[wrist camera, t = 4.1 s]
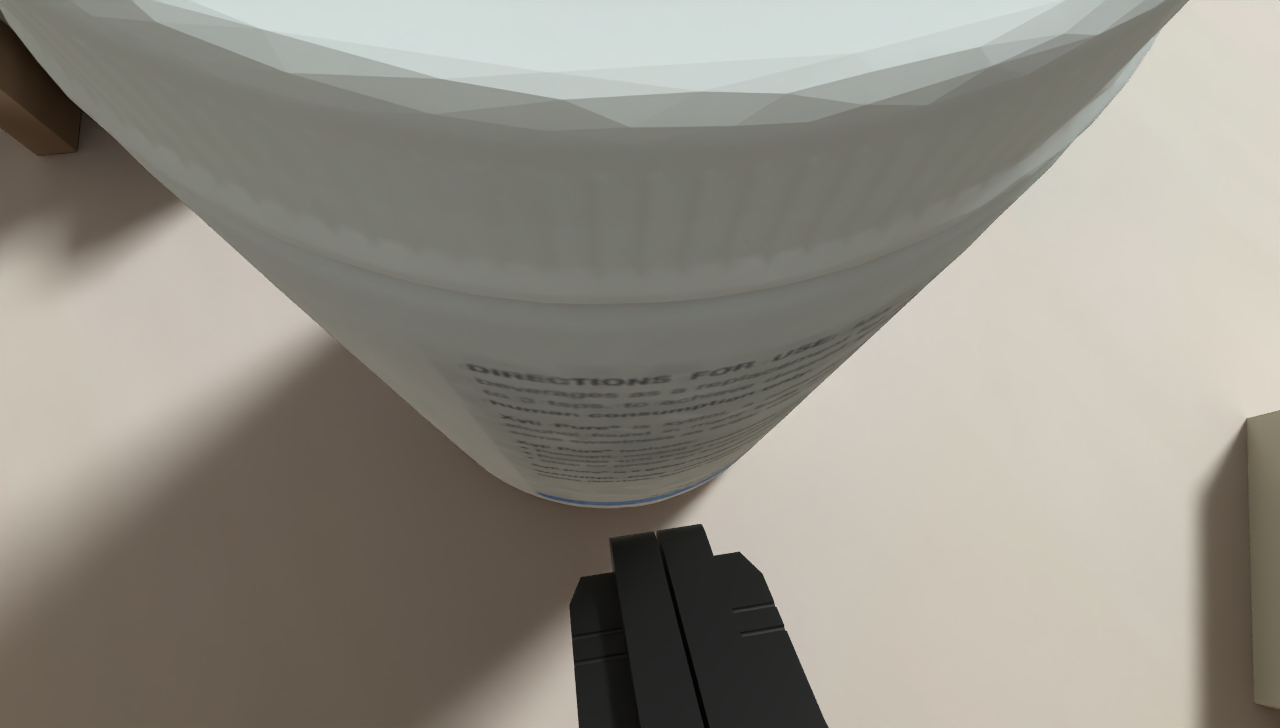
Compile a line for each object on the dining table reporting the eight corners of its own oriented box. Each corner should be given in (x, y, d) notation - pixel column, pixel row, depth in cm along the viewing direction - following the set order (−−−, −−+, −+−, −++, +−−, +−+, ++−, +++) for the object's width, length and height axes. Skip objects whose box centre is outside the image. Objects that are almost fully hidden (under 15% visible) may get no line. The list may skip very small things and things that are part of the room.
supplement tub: (830, 254, 19) (1482, -646, 5) (705, 580, 16) (1407, 593, 2) (518, 125, 20) (326, -992, 6) (345, 416, 17) (-896, -382, 3)
